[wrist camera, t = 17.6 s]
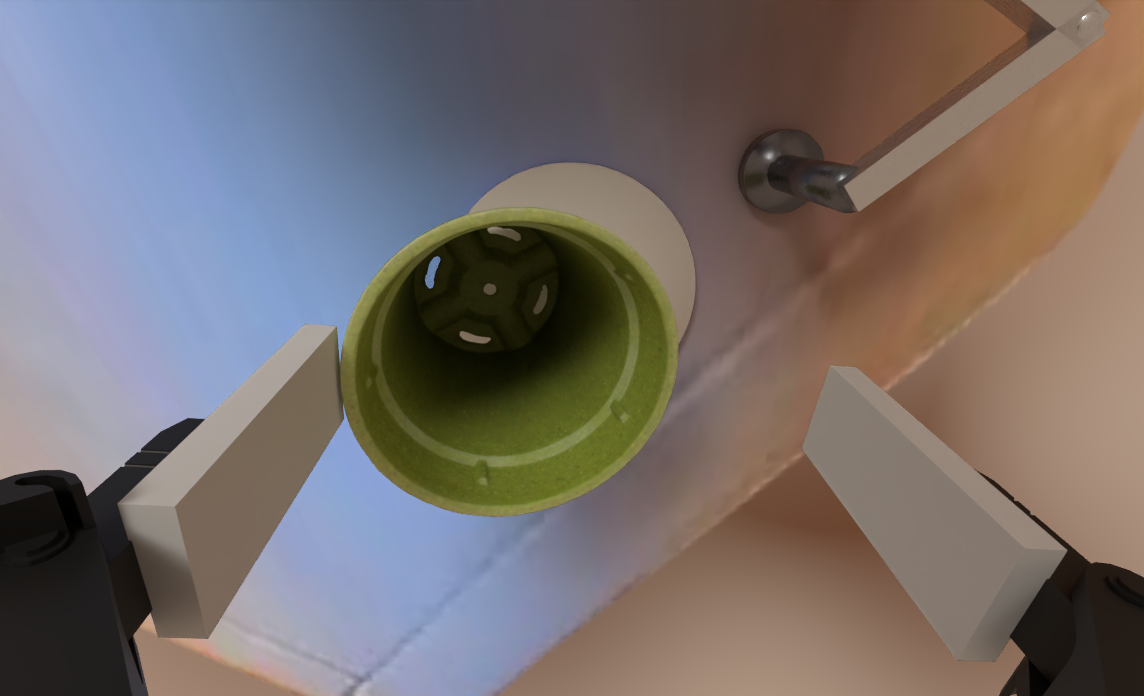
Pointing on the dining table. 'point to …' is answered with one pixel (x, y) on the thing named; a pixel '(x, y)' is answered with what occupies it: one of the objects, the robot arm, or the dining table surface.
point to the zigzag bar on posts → (921, 117)
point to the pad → (603, 222)
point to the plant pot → (509, 362)
